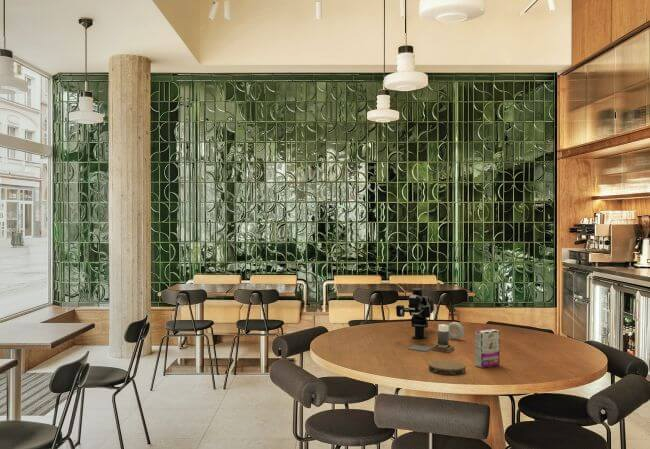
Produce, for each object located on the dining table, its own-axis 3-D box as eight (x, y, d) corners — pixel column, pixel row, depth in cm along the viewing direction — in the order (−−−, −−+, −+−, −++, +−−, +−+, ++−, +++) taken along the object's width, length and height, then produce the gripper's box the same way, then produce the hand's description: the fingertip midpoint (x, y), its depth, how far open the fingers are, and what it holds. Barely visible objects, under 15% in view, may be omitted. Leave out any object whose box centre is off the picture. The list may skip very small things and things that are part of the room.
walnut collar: (437, 347, 304) (437, 343, 304) (454, 349, 299) (454, 345, 299) (431, 350, 296) (431, 346, 296) (448, 352, 292) (448, 348, 292)
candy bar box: (492, 363, 270) (492, 328, 270) (499, 365, 266) (500, 330, 266) (474, 365, 265) (474, 330, 265) (481, 368, 261) (482, 332, 261)
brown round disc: (423, 372, 253) (423, 365, 253) (437, 365, 267) (437, 358, 267) (457, 378, 245) (457, 371, 245) (470, 370, 258) (470, 363, 258)
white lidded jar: (439, 348, 302) (440, 323, 301) (449, 349, 299) (450, 324, 299) (436, 350, 297) (436, 325, 297) (446, 351, 294) (447, 326, 294)
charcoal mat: (414, 345, 307) (414, 344, 307) (432, 348, 302) (432, 347, 302) (407, 349, 298) (407, 348, 298) (426, 351, 293) (426, 350, 293)
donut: (445, 339, 326) (445, 321, 326) (446, 338, 329) (447, 320, 329) (463, 340, 321) (463, 323, 321) (464, 339, 325) (464, 322, 325)
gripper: (399, 293, 323) (391, 300, 309) (431, 293, 316) (425, 301, 301) (400, 312, 324) (392, 320, 310) (433, 313, 317) (426, 321, 303)
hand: (409, 315), depth 306 cm, fingers open, 9 cm apart
